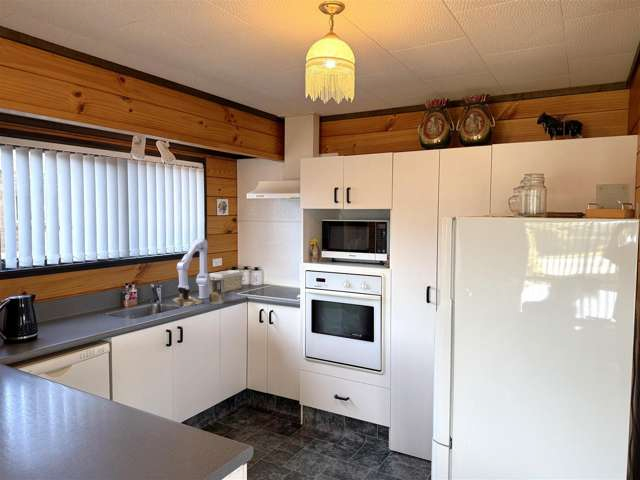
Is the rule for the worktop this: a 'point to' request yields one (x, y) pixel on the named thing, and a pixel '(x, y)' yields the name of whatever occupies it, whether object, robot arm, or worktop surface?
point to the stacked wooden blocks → (182, 299)
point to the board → (190, 301)
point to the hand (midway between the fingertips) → (184, 298)
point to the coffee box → (216, 291)
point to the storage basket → (229, 279)
